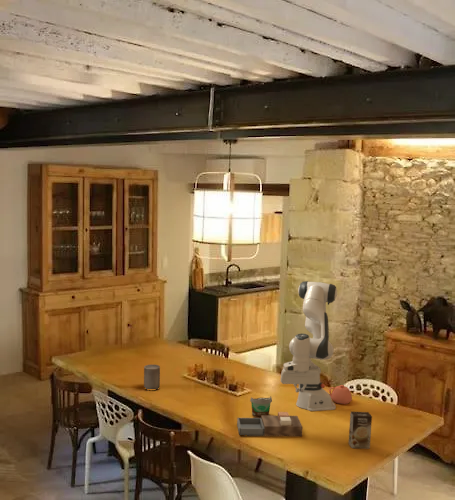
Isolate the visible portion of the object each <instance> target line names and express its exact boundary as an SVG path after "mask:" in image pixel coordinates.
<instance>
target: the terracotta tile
mask: <svg viewBox="0 0 455 500" xmlns="http://www.w3.org/2000/svg"><path fill="white" fill-rule="evenodd" d="M277 416H278V418H279V420H280V417H289V416H290V414H289V412H288V411H277Z"/></svg>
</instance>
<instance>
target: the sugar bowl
mask: <svg viewBox="0 0 455 500" xmlns="http://www.w3.org/2000/svg"><path fill="white" fill-rule="evenodd" d="M328 390H329V392H328V393H329V394H330V396H331V399H332V402H333V403H334V404H343V405H347V404H349V403H351V402H352V400H353V396H352V395H353V394H352V393H351V391H350V388H348V387H347V386H345V384H340V385H338V386H337V385H336V386H335V387H333V386H332V387H329V389H328ZM331 391H332V392H331Z"/></svg>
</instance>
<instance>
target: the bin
mask: <svg viewBox="0 0 455 500" xmlns="http://www.w3.org/2000/svg"><path fill="white" fill-rule="evenodd" d="M236 419H237V421H236V422H237V423H236V427H237V431H238V436H239V435H244V436H243V437H265V436H264V432H265V429H264V425H263V422H262V419H261V418H259V417H237V418H236ZM245 435H247V436H245Z"/></svg>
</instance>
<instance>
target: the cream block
mask: <svg viewBox="0 0 455 500" xmlns="http://www.w3.org/2000/svg"><path fill="white" fill-rule="evenodd" d="M280 424H281V425H291V419H290V417H280Z"/></svg>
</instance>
